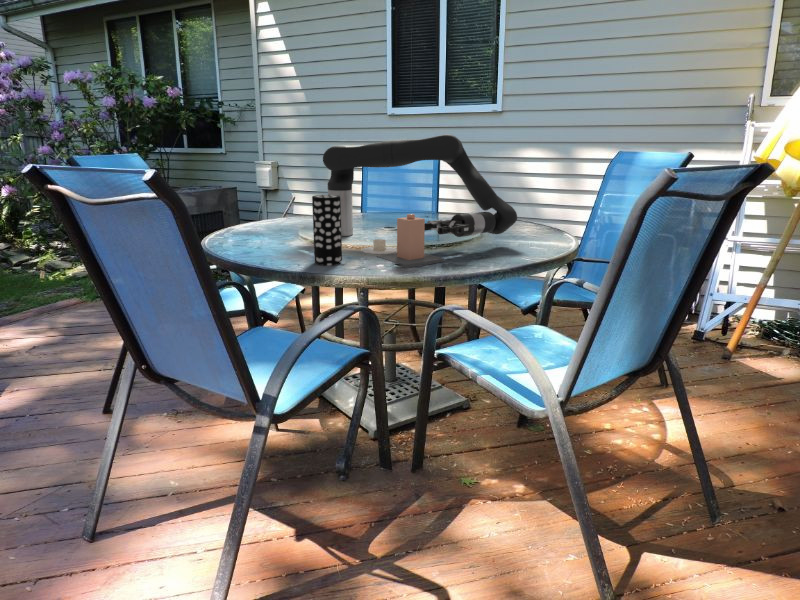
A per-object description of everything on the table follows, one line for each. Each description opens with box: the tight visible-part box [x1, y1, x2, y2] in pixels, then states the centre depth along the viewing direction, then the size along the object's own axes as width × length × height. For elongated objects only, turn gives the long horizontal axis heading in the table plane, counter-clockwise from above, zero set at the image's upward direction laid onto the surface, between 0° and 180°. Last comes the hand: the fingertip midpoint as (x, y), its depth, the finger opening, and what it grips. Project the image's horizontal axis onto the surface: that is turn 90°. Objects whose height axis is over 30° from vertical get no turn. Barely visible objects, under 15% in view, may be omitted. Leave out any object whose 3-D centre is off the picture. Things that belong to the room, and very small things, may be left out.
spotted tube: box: [311, 194, 343, 267], centre depth 168 cm, size 8×8×20 cm
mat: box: [376, 252, 445, 269], centre depth 174 cm, size 15×15×1 cm
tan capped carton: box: [396, 213, 426, 260], centre depth 172 cm, size 6×6×13 cm
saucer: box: [361, 238, 397, 255], centre depth 185 cm, size 12×12×4 cm
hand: (429, 229), depth 176 cm, fingers open, 8 cm apart
